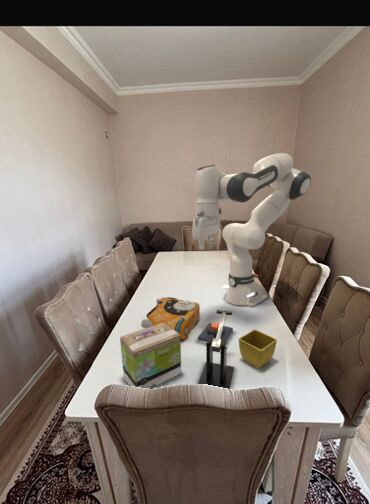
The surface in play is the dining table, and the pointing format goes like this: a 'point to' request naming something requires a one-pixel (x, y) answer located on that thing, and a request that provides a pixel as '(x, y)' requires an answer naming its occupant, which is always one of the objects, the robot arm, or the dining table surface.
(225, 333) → the button block
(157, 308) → the device
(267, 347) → the flower pot
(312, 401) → the dining table surface
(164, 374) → the tea box
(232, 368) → the bracket
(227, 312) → the lever
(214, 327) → the button
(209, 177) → the robot arm
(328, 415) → the dining table surface
